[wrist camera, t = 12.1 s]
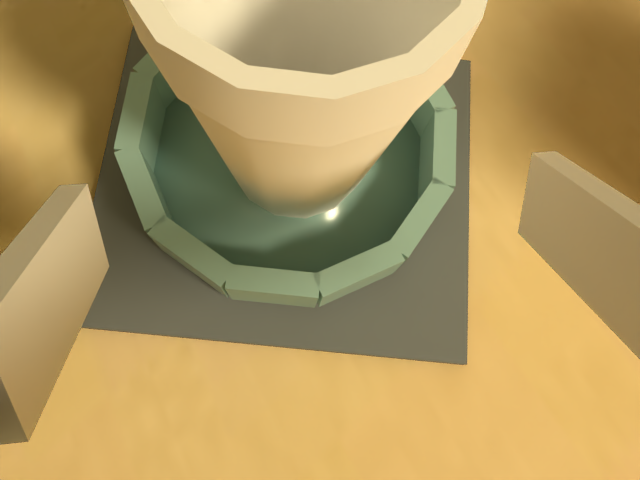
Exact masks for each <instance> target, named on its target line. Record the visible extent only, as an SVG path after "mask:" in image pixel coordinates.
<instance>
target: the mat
mask: <svg viewBox="0 0 640 480" xmlns="http://www.w3.org/2000/svg"><path fill="white" fill-rule="evenodd" d="M147 53H148V52H147V50H146V49H145V47H144V46H143V44H142V43H141V41H140V40H139V38H138V35H137V33H136V31H135V28H134V26H133V29H132V33H131V38H130V42H129V46H128V51H127V55H126V60H125V64H124V69H123V73H122V77H121V82H120V86H119V91H118V95H117V100H116V104H115V108H114V113H113V117H112V122H111V126H110V131H109V135H108V139H107V144H106V148H105V153H104V157H103V162H102V166H101V170H100V175H99V179H98V184H97V188H96V192H95V197H94V201H93V206H94V210H95V214H96V218H97V222H98V225H99V229H100V233H101V237H102V240H103V244H104V248H105V252H106V256H107V259H108V263H109V268H108V270H107V273H106V275H105V277H104V279H103V281H102V283H101V286H100V288H99V290H98V292H97V294H96V296H95V299H94V301H93V303H92V305H91V307H90V309H89V311H88V314H87V316H86V318H85V320H84V322H83V324H82V327H81V328H89V329H99V330H110V331H120V332H130V333H141V334H151V335H161V336H171V337H182V338H192V339H202V340H213V341H223V342H233V343H243V344H254V345H264V346H274V347H285V348H295V349H305V350H315V351H326V352H336V353H346V354H357V355H367V356H377V357H387V358H398V359H408V360H418V361H429V362H439V363H449V364H459V365H466V364H467V329H468V240H469V151H470V62H471V61H467V60H460V62H459V63H458V65H457V67H456V69H455V71H454V73H453V75H452V76H451V77H450V78H449V79H448V80H447V81H446V82H445V83H444V86H445V88H446V89H447V91H448V93H449V95H450V96H451V98H452V100H453V102H454V103H455V105H456V107H455V108H454V109H457V134H456V186H455V187H454V188H453V189H454V191H453V192H452V194H451V195H450V197H449V198H448V200H447V201H446V203H445V204H444V206H443V207H442V209H441V210H440V212H439V213H438V215H437V216H436V218H435V219H434V221H433V222H432V224H431V225H430V226H429V228H428V229H427V231H426V232H425V234H424V235H423V237H422V238H421V240H420V241H419V243H418V244H417V246H416V247H415V249H414V250H413V252H412V253H411V255H410V256H409V258H408V259H407V260H406V261H405V262H404V263H403V264H402V265H401V266H400V267H399V268H398V269H397V270H396V271H395V272H394V273H393V274H391V275H389V276H387V277H384V278H382V279H380V280H378V281H376V282H373V283H371V284H369V285H367V286H365V287H362V288H360V289H358V290H356V291H354V292H351V293H349V294H347V295H345V296H342V297H340V298H338V299H336V300H334V301H331V302H329V303H327V304H325V305H323V306H320V307H319V306H318V304H316V306H315V308H312V307H302V306H292V305H282V304H272V303H262V302H252V301H242V300H232V299H231V298H230V296H229V297H228V298H227V297H226V296H224V295H223V294H221V293H220V292H219V291H217V290H216V289H215V288H213V287H212V286H210V285H209V284H208V283H206V282H205V281H204V280H202V279H201V278H199V277H198V276H197V275H195V274H194V273H193V272H191V271H190V270H189V269H187V268H186V267H184V266H183V265H182V264H180V263H179V262H178V261H176V260H175V259H173V258H172V257H171V256H169V255H168V254H167V253H165V252H164V251H162V250H161V249H160V247H159V246H158V245H157V244H156V243H155V242H154V241H153V240H152V239H151V237H150V236H149V235H148V234H147V233H146V231H145V230H144V228H143V225H142V223H141V220H140V218H139V215H138V213H137V210H136V207H135V205H134V202H133V200H132V197H131V195H130V192H129V190H128V187H127V184H126V182H125V179H124V177H123V174H122V172H121V169H120V167H119V164H118V162H117V159H116V156H115V154H114V152H116V151H115V150H114V144H115V140H116V135H117V131H118V126H119V122H120V117H121V113H122V108H123V104H124V99H125V95H126V90H127V86H128V81H129V77H130V72H134V71H133V69H132V68H133V67H134V66H135V65H136V64H137V63H138V62H139V61H140V60H141V59H142V58H143V57H144V56H145V55H146V54H147Z"/></svg>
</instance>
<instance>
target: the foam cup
mask: <svg viewBox="0 0 640 480" xmlns="http://www.w3.org/2000/svg"><path fill="white" fill-rule="evenodd" d="M487 1H488V0H123V2H124V4H125V7H126V9H127V12H128V14H129V16H130V19H131V21H132V23H133V26H134V28H135V31H136V33H137V35H138V38H139V40H140V41H141V43H142V44H143V46H144V47H145V49H146V50H147V52H148V53H149V55H150V57H151V58H152V60H153V61H154V63H155V64H156V66H157V67H158V69H159V70H160V72H161V73H162V75H163V77H164V78H165V80H166V81H167V83H168V84H169V86H170V87H171V89H172V90H173V92H174V93H175V95H176V97H177V98H178V99H179V100H181V101H183V102H184V103H186V104H188V105H189V106H190V108H191V109H192V111H193V113H194V114H195V116H196V117H197V119H198V121H199V122H200V124H201V125H202V127H203V129H204V130H205V132H206V133H207V135H208V137H209V138H210V140H211V141H212V143H213V145H214V146H215V148H216V149H217V151H218V153H219V154H220V156H221V157H222V159H223V161H224V162H225V164H226V165H227V167H228V169H229V170H230V172H231V173H232V175H233V176H234V178H235V179H236V181H237V182H238V184H239V186H240V187H241V189H242V190H243V192H244V193H245V195H246V196H247V197H248V199H249V200H250V201H252V202H253V203H255V204H257V205H258V206H260V207H262V208H263V209H265V210H267V211H269V212H270V213H272V214H274V215H276V216H286V217H295V218H304V219H306V218H309V217H312V216H315V215H318V214H321V213H324V212H327V211H330V210H333V209H334V208H335V207H336V206H337V205H338V204H339V203H340V202H341V201H342V200H343V199H345V198H346V197H347V196H348V195H349V194H350V193H351V192H352V191H353V190H354V188H355V187H356V186H357V185H358V184H359V183H360V181H361V180H362V179H363V178H364V176H365V175H366V174H367V172H368V171H369V170H370V169H371V167H372V166H373V165H374V164H375V162H376V161H377V160H378V158H379V157H380V156H381V155H382V153H383V152H384V151H385V149H386V148H387V147H388V146H389V144H390V143H391V142H392V140H393V139H394V138H395V137H396V135H397V134H398V133H399V131H400V130H401V129H402V128H403V126H404V125H405V124H406V123H407V121H408V120H409V119H410V117H411V116H412V115H413V114H414V112H415V111H416V110H417V109H418V108H419V107H420V106H421V105H422V104H423V103H424V102H425V101H426V100H427V99H428V98H429V97H430V96H432V95H433V94H434V93H435V92H436V91H437V90H438V89H439V88H440V87H441V86H442V85H443V84H444V83H445V82H446V81H447V80H448V79H449V78H450V77H451V76H452V75H453V73H454V71H455V69H456V67H457V65H458V63H459V62H460V60H461V58H462V56H463V54H464V52H465V50H466V48H467V46H468V45H469V43H470V41H471V39H472V37H473V35H474V33H475V31H476V30H477V28H478V26H479V24H480V22H481V20H482V18H483V15H484V12H485V8H486V5H487Z"/></svg>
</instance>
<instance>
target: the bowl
mask: <svg viewBox="0 0 640 480" xmlns="http://www.w3.org/2000/svg"><path fill="white" fill-rule="evenodd" d="M132 69H133V71H134V72H130V77H129V81H128V86H127V90H126V95H125V99H124V104H123V108H122V113H121V117H120V122H119V126H118V131H117V135H116V140H115V144H114V150H115V151H116V152H114V154H115V156H116V159H117V162H118V164H119V167H120V169H121V172H122V174H123V177H124V179H125V182H126V184H127V187H128V190H129V192H130V195H131V197H132V200H133V202H134V205H135V207H136V210H137V213H138V215H139V218H140V220H141V223H142V225H143V228H144V230H145V231H146V233H147V234H148V235H149V236H150V237H151V239H152V240H153V241H154V242H155V243H156V244H157V245H158V246H159V247H160V249H161V250H162V251H164V252H165V253H167V254H168V255H169V256H171V257H172V258H173V259H175V260H176V261H178V262H179V263H180V264H182V265H183V266H184V267H186V268H187V269H189V270H190V271H191V272H193V273H194V274H195V275H197V276H198V277H199V278H201V279H202V280H204V281H205V282H206V283H208V284H209V285H210V286H212V287H213V288H215V289H216V290H217V291H219V292H220V293H221V294H223V295H224V296H226V297H227V298H228V297H229V296H230V298H231V299H232V300H242V301H252V302H262V303H272V304H282V305H292V306H302V307H312V308H315V306H316V304H318V306H319V307H320V306H323V305H325V304H327V303H329V302H331V301H334V300H336V299H338V298H340V297H342V296H345V295H347V294H349V293H351V292H354V291H356V290H358V289H360V288H362V287H365V286H367V285H369V284H371V283H373V282H376V281H378V280H380V279H382V278H384V277H387V276H389V275H391V274H393V273H394V272H395V271H396V270H397V269H398V268H399V267H400V266H401V265H402V264H403V263H404V262H405V261H406V260H407V259H408V258H409V256H410V255H411V253H412V252H413V250H414V249H415V247H416V246H417V244H418V243H419V241H420V240H421V238H422V237H423V235H424V234H425V232H426V231H427V229H428V228H429V226H430V225H431V224H432V222H433V221H434V219H435V218H436V216H437V215H438V213H439V212H440V210H441V209H442V207H443V206H444V204H445V203H446V201H447V200H448V198H449V197H450V195H451V194H452V192H453V191H454V189H453V188H454V187H455V186H456V134H457V109H454V108H455V107H456V105H455V103H454V102H453V100H452V98H451V96H450V95H449V93H448V91H447V89H446V88H445V86H444V84H443V85H442V86H441V87H440V88H439V89H438V90H437V91H436V92H435V93H434V94H433V95H432V96H430V97H429V98H428V99H427V100H426V101H425V102H424V103H423V104H422V105H421V106H420V107H419V108H418V109H417V110H416V111H415V112H414V114H413V115H412V116H411V117H410V119H409V120H408V121H407V123H406V124H405V125H404V126H403V128H402V129H401V130H400V131H399V133H398V134H397V135H396V137H395V138H394V139H393V140H392V142H391V143H390V144H389V146H388V147H387V148H386V149H385V151H384V152H383V153H382V155H381V156H380V157H379V158H378V160H377V161H376V162H375V164H374V165H373V166H372V167H371V169H370V170H369V171H368V172H367V174H366V175H365V176H364V178H363V179H362V180H361V181H360V183H359V184H358V185H357V186H356V187H355V188H354V190H353V191H352V192H351V193H350V194H349V195H348V196H347V197H346V198H345V199H343V200H342V201H341V202H340V203H339V204H338V205H337V206H336V207H335V208H334V209H333V210H330V211H327V212H324V213H321V214H318V215H315V216H312V217H309V218H306V219H304V218H295V217H286V216H276V215H274V214H272V213H270V212H269V211H267V210H265V209H263V208H262V207H260V206H258V205H257V204H255V203H253V202H252V201H250V200H249V199H248V197H247V196H246V195H245V193H244V192H243V190H242V189H241V187H240V186H239V184H238V182H237V181H236V179H235V178H234V176H233V175H232V173H231V172H230V170H229V169H228V167H227V165H226V164H225V162H224V161H223V159H222V157H221V156H220V154H219V153H218V151H217V149H216V148H215V146H214V145H213V143H212V141H211V140H210V138H209V137H208V135H207V133H206V132H205V130H204V129H203V127H202V125H201V124H200V122H199V121H198V119H197V117H196V116H195V114H194V113H193V111H192V109H191V108H190V106H189V105H188V104H186V103H184V102H183V101H181V100H179V99H178V98H177V97H176V95H175V93H174V92H173V90H172V89H171V87H170V86H169V84H168V83H167V81H166V80H165V78H164V77H163V75H162V73H161V72H160V70H159V69H158V67H157V66H156V64H155V63H154V61H153V60H152V58H151V57H150V55H149V53H147V54H146V55H145V56H144V57H143V58H142V59H141V60H140V61H139V62H138V63H137V64H136V65H135V66H134V67H133V68H132Z"/></svg>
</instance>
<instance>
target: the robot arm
mask: <svg viewBox="0 0 640 480" xmlns="http://www.w3.org/2000/svg"><path fill="white" fill-rule="evenodd" d="M518 233H519V234H520V235H521V236H522V237H523V238H524V239H525V240H526V242H527V243H528V244H529V245H530V246H531V247H532V248H533V249H534V250H535V251H536V252H537V253H538V254H539V255H540V256H541V257H542V258H543V259H544V260H545V261H546V262H547V263H548V264H549V265H550V266H551V267H552V269H553V270H554V271H555V272H556V273H557V274H558V275H559V276H560V277H561V278H562V279H563V280H564V281H565V282H566V283H567V284H568V285H569V286H570V287H571V288H572V289H573V290H574V291H575V292H576V293H577V295H578V296H579V297H580V298H581V299H582V300H583V301H584V302H585V303H586V304H587V305H588V306H589V307H590V308H591V309H592V310H593V311H594V312H595V313H596V314H597V315H598V316H599V317H600V318H601V319H602V321H603V322H604V323H605V324H606V325H607V326H608V327H609V328H610V329H611V330H612V331H613V332H614V333H615V334H616V335H617V336H618V337H619V338H620V339H621V340H622V341H623V342H624V343H625V344H626V345H627V346H628V348H629V349H630V350H631V351H632V352H633V353H634V354H635V355H636V356H637V357H638V358H639V359H640V205H639V204H638V203H636V202H635V201H633V200H631V199H630V198H628V197H627V196H625V195H624V194H622V193H621V192H619V191H617V190H616V189H614V188H613V187H611V186H610V185H608V184H607V183H605V182H603V181H602V180H600V179H599V178H597V177H596V176H594V175H592V174H591V173H589V172H588V171H586V170H585V169H583V168H582V167H580V166H578V165H577V164H575V163H574V162H572V161H571V160H569V159H568V158H566V157H564V156H563V155H561V154H560V153H558V152H557V151H549V152H535V153H532V155H531V161H530V166H529V172H528V178H527V184H526V189H525V195H524V201H523V207H522V212H521V218H520V224H519V230H518ZM108 268H109V263H108V259H107V256H106V252H105V248H104V244H103V240H102V237H101V233H100V229H99V225H98V222H97V218H96V214H95V210H94V206H93V203H92V199H91V195H90V191H89V187H88V184H87V183H86V184H72V185H59V186H58V188H57V189H56V190H55V191H54V192H53V194H52V195H51V196H50V197H49V198H48V199H47V201H46V202H45V203H44V204H43V205H42V207H41V208H40V209H39V210H38V211H37V212H36V214H35V215H34V216H33V217H32V218H31V220H30V221H29V222H28V223H27V224H26V226H25V227H24V228H23V229H22V230H21V231H20V233H19V234H18V235H17V236H16V237H15V239H14V240H13V241H12V242H11V243H10V244H9V246H8V247H7V248H6V249H5V250H4V252H3V253H2V254H1V255H0V445H1V444H10V443H19V442H28V441H29V439H30V437H31V435H32V433H33V431H34V428H35V426H36V424H37V422H38V420H39V418H40V415H41V413H42V411H43V409H44V407H45V405H46V402H47V400H48V398H49V396H50V394H51V392H52V389H53V387H54V385H55V383H56V381H57V379H58V376H59V374H60V372H61V370H62V368H63V366H64V363H65V361H66V359H67V357H68V355H69V353H70V350H71V348H72V346H73V344H74V342H75V340H76V337H77V335H78V333H79V331H80V329H81V327H82V324H83V322H84V320H85V318H86V316H87V314H88V311H89V309H90V307H91V305H92V303H93V301H94V299H95V296H96V294H97V292H98V290H99V288H100V286H101V283H102V281H103V279H104V277H105V275H106V273H107V270H108Z"/></svg>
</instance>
